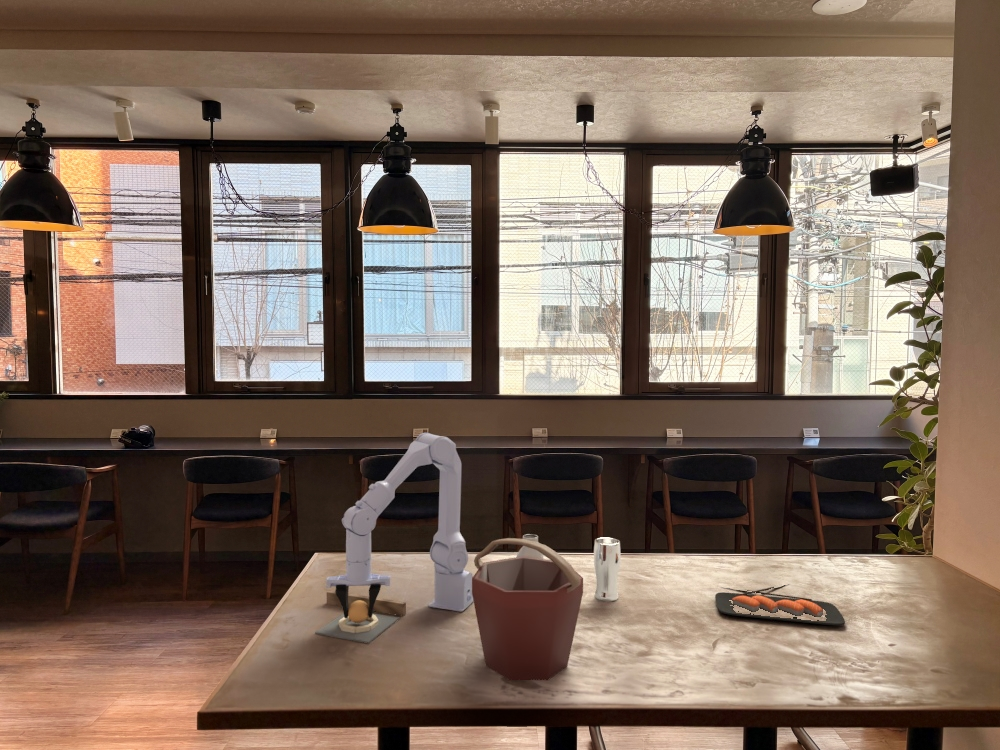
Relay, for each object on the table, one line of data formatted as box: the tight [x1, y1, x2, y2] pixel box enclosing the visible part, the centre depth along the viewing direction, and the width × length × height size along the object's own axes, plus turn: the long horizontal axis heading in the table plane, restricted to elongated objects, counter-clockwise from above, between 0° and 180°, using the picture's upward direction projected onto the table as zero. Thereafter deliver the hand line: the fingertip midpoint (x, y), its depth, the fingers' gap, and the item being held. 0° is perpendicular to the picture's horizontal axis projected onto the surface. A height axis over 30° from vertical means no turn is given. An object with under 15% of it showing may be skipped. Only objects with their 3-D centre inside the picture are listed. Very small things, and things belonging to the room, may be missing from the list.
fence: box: [326, 590, 407, 617], centre depth 163 cm, size 22×1×3 cm, turn 70°
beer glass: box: [593, 537, 621, 602], centre depth 172 cm, size 7×7×15 cm
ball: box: [348, 600, 369, 623], centre depth 153 cm, size 5×5×5 cm
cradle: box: [315, 612, 401, 644], centre depth 153 cm, size 14×14×1 cm
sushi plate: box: [714, 586, 846, 626], centre depth 171 cm, size 29×30×4 cm
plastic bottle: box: [516, 533, 544, 559], centre depth 158 cm, size 6×7×20 cm
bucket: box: [472, 537, 584, 681], centre depth 136 cm, size 24×22×25 cm
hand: (358, 616), depth 153 cm, fingers closed on ball, 5 cm apart
